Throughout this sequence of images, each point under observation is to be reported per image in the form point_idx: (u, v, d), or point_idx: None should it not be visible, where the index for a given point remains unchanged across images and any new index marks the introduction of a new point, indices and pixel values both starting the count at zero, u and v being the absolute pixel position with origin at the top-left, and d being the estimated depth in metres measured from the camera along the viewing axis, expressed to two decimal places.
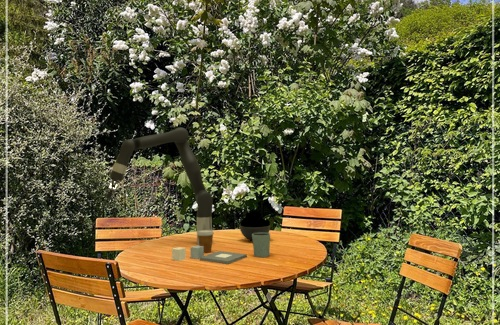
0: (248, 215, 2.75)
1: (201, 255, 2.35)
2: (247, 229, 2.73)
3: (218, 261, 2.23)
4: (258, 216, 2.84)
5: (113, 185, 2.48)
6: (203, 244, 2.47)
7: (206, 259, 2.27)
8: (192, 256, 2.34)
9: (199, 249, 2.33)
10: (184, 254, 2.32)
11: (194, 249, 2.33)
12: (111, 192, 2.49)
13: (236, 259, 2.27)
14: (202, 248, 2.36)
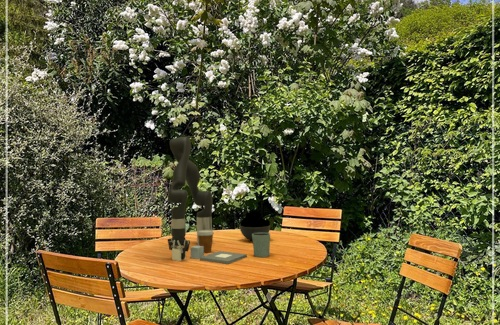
0: (248, 215, 2.75)
1: (201, 255, 2.35)
2: (247, 229, 2.73)
3: (218, 261, 2.23)
4: (258, 216, 2.84)
5: (187, 245, 2.29)
6: (203, 244, 2.47)
7: (206, 259, 2.27)
8: (192, 256, 2.34)
9: (199, 249, 2.33)
10: None
11: (194, 249, 2.33)
12: None
13: (236, 259, 2.27)
14: (202, 248, 2.36)
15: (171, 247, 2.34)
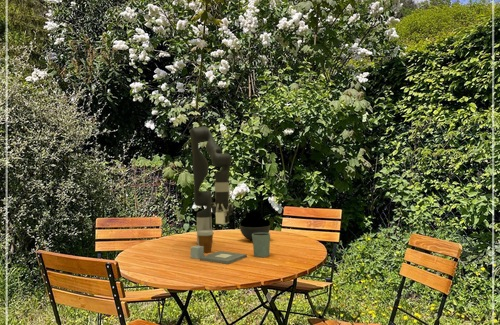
0: (248, 215, 2.75)
1: (201, 255, 2.35)
2: (247, 229, 2.73)
3: (218, 261, 2.23)
4: (258, 216, 2.84)
5: (231, 208, 2.29)
6: (203, 244, 2.47)
7: (206, 259, 2.27)
8: (192, 256, 2.34)
9: (199, 249, 2.33)
10: None
11: (194, 249, 2.33)
12: (228, 215, 2.30)
13: (236, 259, 2.27)
14: (202, 248, 2.36)
15: (214, 211, 2.34)
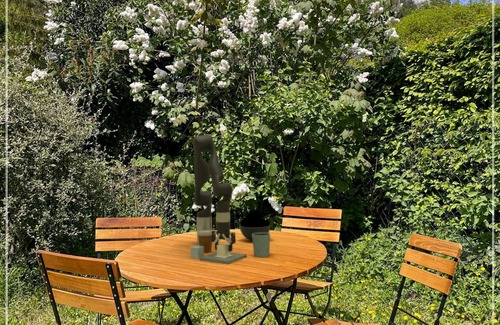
0: (248, 215, 2.75)
1: (201, 255, 2.35)
2: (247, 229, 2.73)
3: (218, 261, 2.23)
4: (258, 216, 2.84)
5: (234, 236, 2.29)
6: (203, 244, 2.47)
7: (206, 259, 2.27)
8: (192, 256, 2.34)
9: (199, 249, 2.33)
10: None
11: (194, 249, 2.33)
12: (232, 244, 2.30)
13: (236, 259, 2.27)
14: (202, 248, 2.36)
15: None
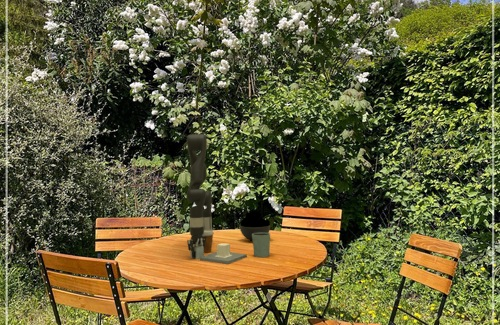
0: (248, 215, 2.75)
1: (201, 255, 2.35)
2: (247, 229, 2.73)
3: (218, 261, 2.23)
4: (258, 216, 2.84)
5: (189, 244, 2.30)
6: None
7: (206, 259, 2.27)
8: None
9: (199, 249, 2.33)
10: (229, 250, 2.33)
11: None
12: (193, 251, 2.32)
13: (236, 259, 2.27)
14: (202, 248, 2.36)
15: None
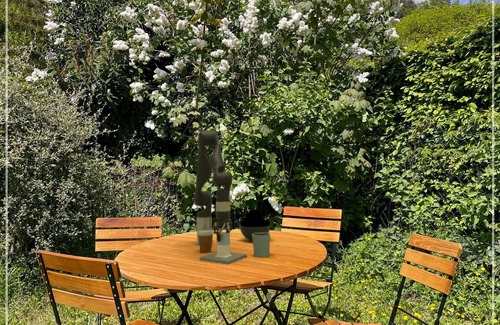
0: (248, 215, 2.75)
1: (227, 242, 2.32)
2: (247, 229, 2.73)
3: (218, 261, 2.23)
4: (258, 216, 2.84)
5: (215, 227, 2.27)
6: (203, 244, 2.47)
7: (206, 259, 2.27)
8: (218, 243, 2.31)
9: (226, 235, 2.30)
10: (229, 250, 2.33)
11: (221, 235, 2.30)
12: (218, 234, 2.28)
13: (236, 259, 2.27)
14: (228, 234, 2.33)
15: None
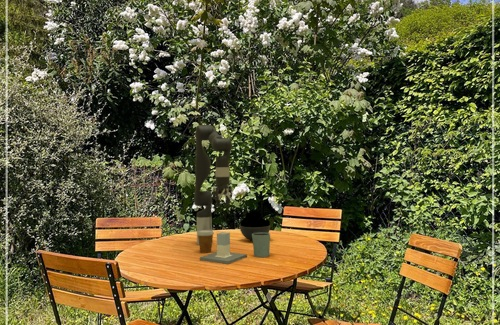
0: (248, 215, 2.75)
1: (227, 242, 2.32)
2: (247, 229, 2.73)
3: (218, 261, 2.23)
4: (258, 216, 2.84)
5: (215, 192, 2.26)
6: (203, 244, 2.47)
7: (206, 259, 2.27)
8: (218, 243, 2.31)
9: (226, 235, 2.30)
10: (229, 250, 2.33)
11: (221, 235, 2.30)
12: (217, 199, 2.27)
13: (236, 259, 2.27)
14: (228, 234, 2.33)
15: None
